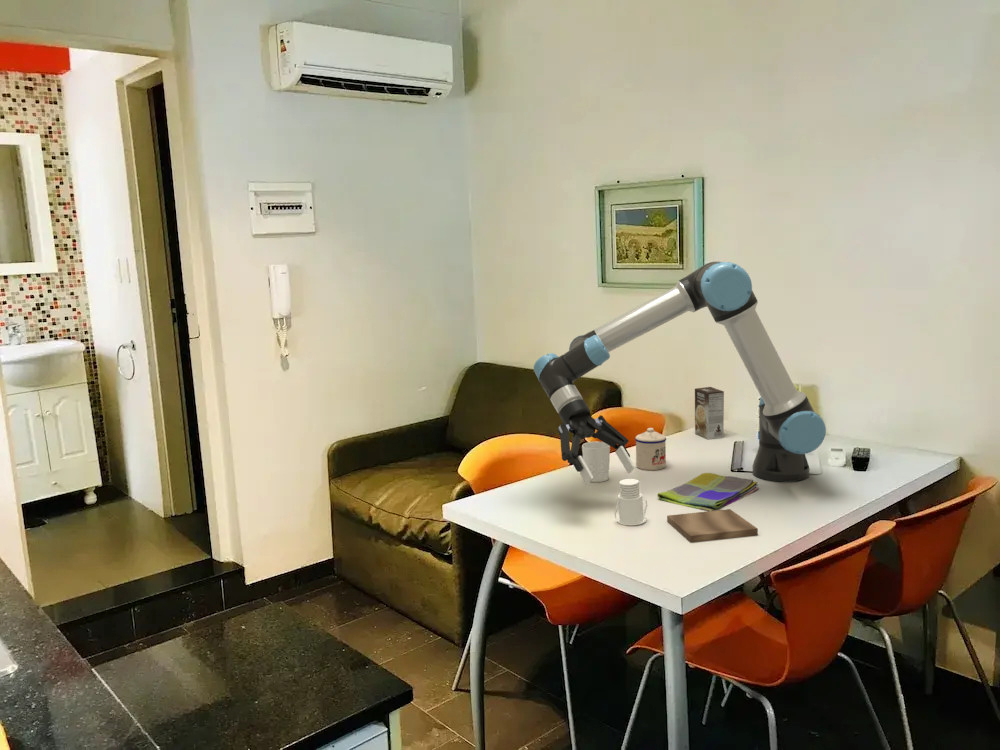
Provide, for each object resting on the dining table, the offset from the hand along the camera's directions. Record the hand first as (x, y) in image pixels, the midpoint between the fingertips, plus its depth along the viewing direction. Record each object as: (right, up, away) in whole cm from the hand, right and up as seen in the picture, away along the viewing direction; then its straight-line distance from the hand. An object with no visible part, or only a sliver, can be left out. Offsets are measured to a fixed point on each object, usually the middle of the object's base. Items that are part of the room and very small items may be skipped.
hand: (611, 475), depth 196 cm
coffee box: (+44, +4, +76) cm, 88 cm away
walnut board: (+22, -11, -10) cm, 26 cm away
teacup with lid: (+19, -3, +44) cm, 48 cm away
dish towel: (+28, -7, +15) cm, 32 cm away
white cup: (0, -5, +33) cm, 33 cm away
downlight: (+4, -11, -3) cm, 12 cm away
